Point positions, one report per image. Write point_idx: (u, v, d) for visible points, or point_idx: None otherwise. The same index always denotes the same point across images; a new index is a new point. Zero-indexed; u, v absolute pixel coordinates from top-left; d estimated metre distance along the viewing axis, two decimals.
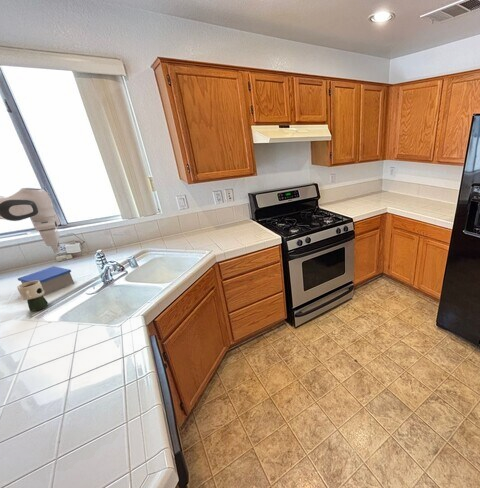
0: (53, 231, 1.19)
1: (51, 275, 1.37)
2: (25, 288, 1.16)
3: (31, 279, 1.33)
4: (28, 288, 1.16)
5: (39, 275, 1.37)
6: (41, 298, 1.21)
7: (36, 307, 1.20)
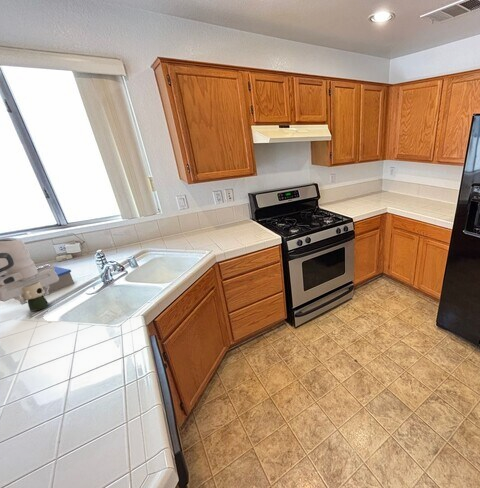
0: None
1: None
2: (25, 288, 1.16)
3: None
4: (28, 288, 1.16)
5: None
6: (41, 298, 1.22)
7: (37, 307, 1.20)
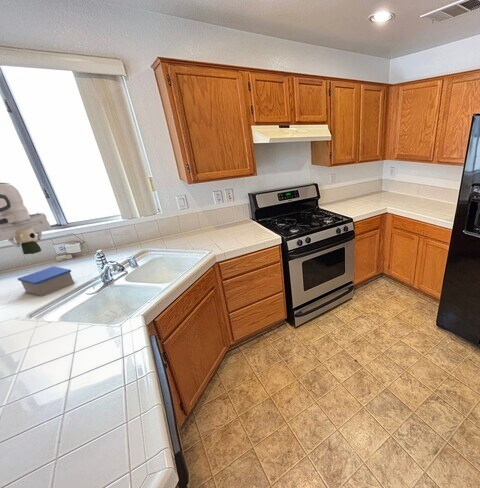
0: None
1: (51, 275, 1.37)
2: (19, 231, 1.24)
3: (31, 279, 1.33)
4: (22, 231, 1.24)
5: (39, 275, 1.37)
6: (34, 243, 1.30)
7: (30, 251, 1.28)
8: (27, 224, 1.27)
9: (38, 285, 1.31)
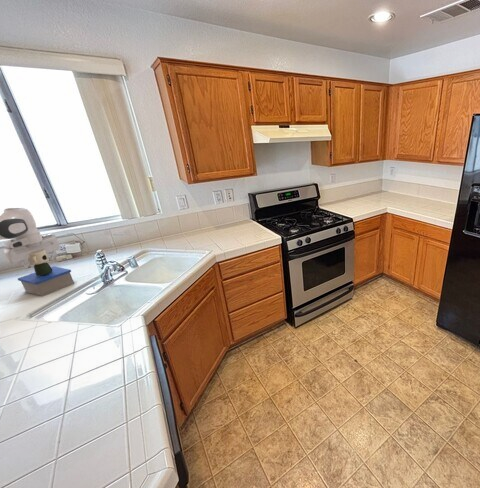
0: (8, 251, 1.24)
1: (51, 275, 1.37)
2: (32, 254, 1.31)
3: (31, 279, 1.33)
4: (35, 254, 1.32)
5: (39, 275, 1.37)
6: (46, 264, 1.37)
7: (42, 272, 1.36)
8: (39, 246, 1.35)
9: (38, 285, 1.31)
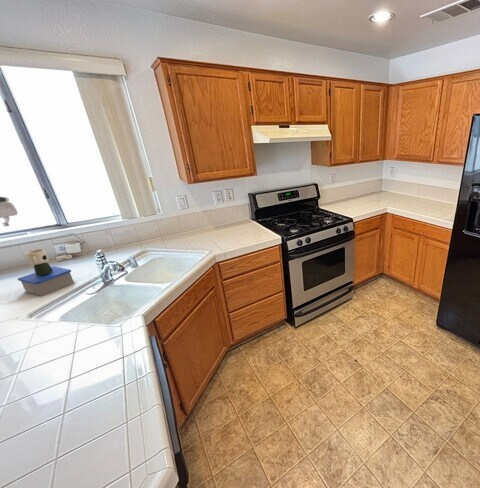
0: None
1: (51, 275, 1.37)
2: (32, 254, 1.31)
3: (31, 279, 1.33)
4: (35, 254, 1.32)
5: (39, 275, 1.37)
6: (46, 264, 1.37)
7: (42, 272, 1.36)
8: None
9: (38, 285, 1.31)
